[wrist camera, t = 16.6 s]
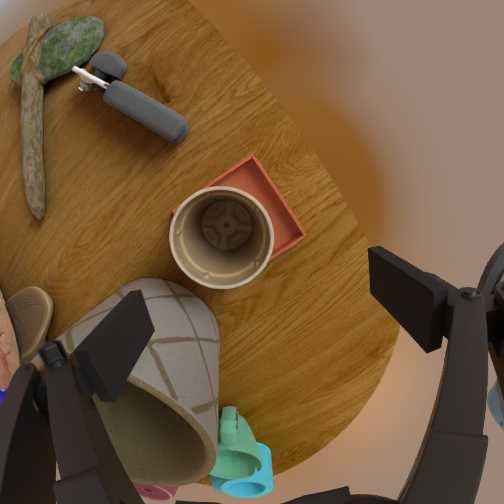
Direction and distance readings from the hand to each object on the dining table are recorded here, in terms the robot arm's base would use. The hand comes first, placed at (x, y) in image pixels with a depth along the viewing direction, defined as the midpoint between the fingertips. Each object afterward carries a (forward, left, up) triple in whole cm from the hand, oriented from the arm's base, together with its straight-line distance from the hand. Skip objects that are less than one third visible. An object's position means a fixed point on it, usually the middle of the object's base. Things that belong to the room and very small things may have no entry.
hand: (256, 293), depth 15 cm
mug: (+9, +30, -20) cm, 37 cm away
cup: (+10, +44, -20) cm, 49 cm away
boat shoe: (+41, +8, -12) cm, 44 cm away
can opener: (+11, -20, -19) cm, 30 cm away
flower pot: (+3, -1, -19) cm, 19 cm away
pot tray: (+1, -1, -19) cm, 20 cm away
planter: (+15, +12, -20) cm, 27 cm away
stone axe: (+18, -14, -19) cm, 30 cm away
